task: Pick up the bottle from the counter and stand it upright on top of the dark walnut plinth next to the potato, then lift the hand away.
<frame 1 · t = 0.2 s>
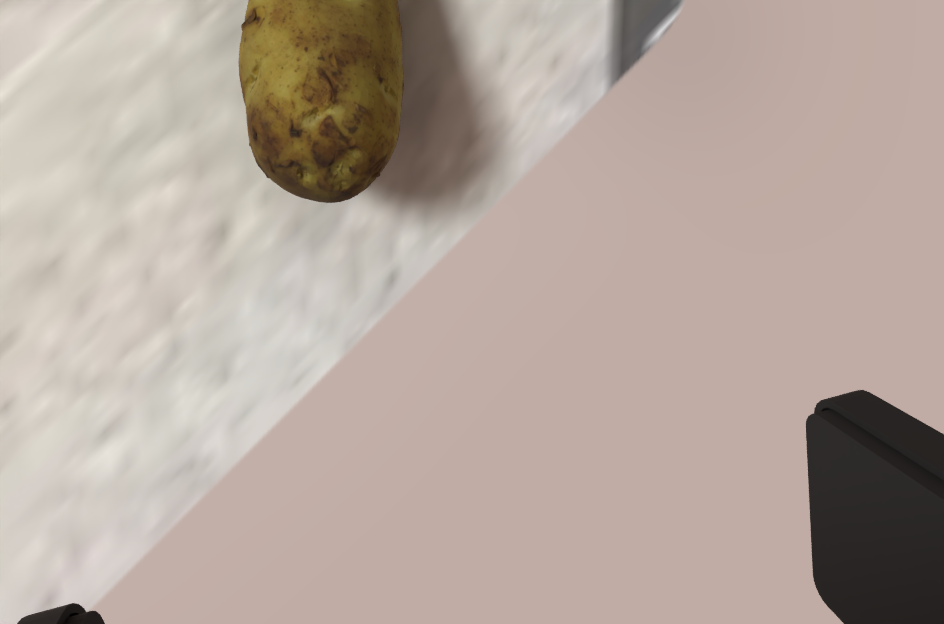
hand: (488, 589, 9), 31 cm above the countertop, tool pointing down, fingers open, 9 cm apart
potato: (330, 57, 36), on the countertop
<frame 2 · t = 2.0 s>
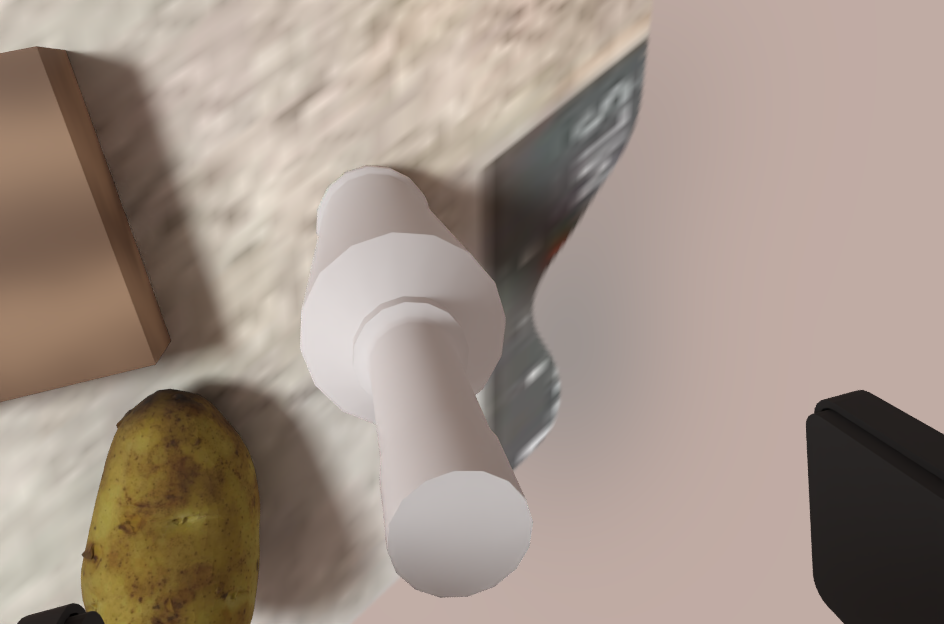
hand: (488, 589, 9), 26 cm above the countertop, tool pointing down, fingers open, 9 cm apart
bottle: (373, 217, 33), on the countertop
potato: (196, 496, 36), on the countertop
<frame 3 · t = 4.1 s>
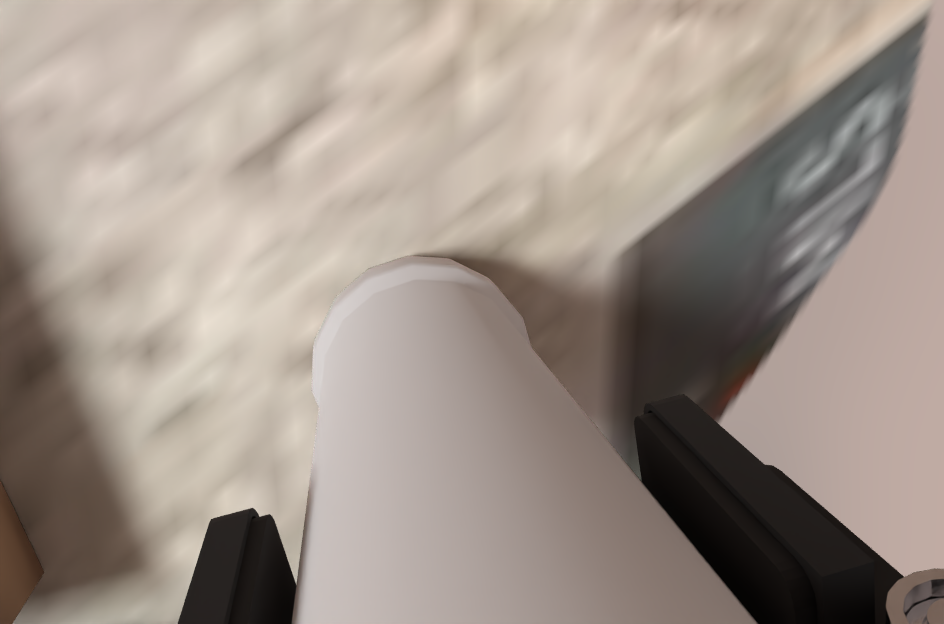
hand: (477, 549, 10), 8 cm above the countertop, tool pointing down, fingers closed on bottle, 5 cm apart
bottle: (416, 344, 18), on the countertop, touching gripper
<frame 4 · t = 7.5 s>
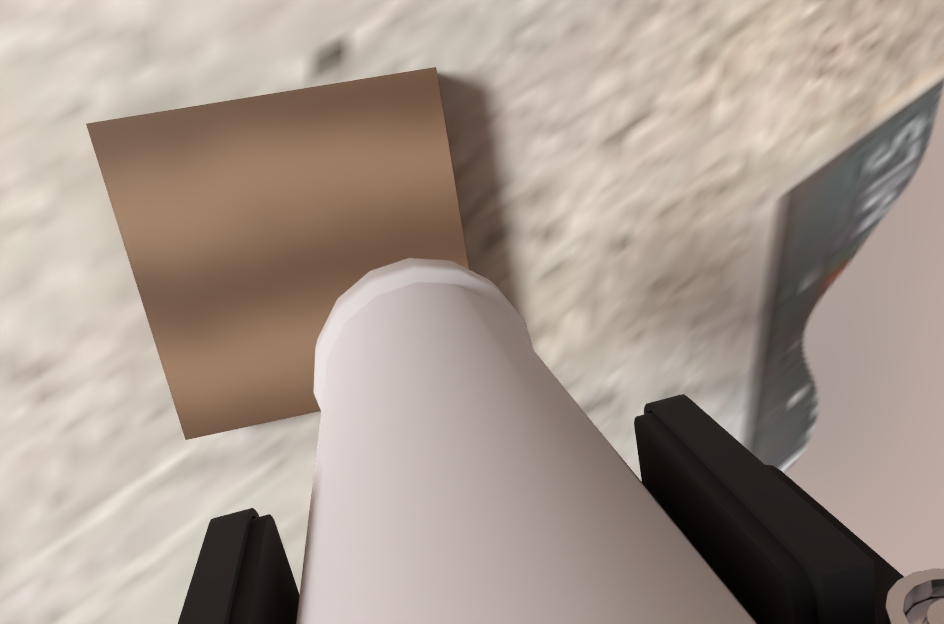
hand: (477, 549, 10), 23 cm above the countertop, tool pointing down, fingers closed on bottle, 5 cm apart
bottle: (418, 346, 18), point 15 cm above the countertop, touching gripper
walnut plinth: (309, 247, 31), on the countertop
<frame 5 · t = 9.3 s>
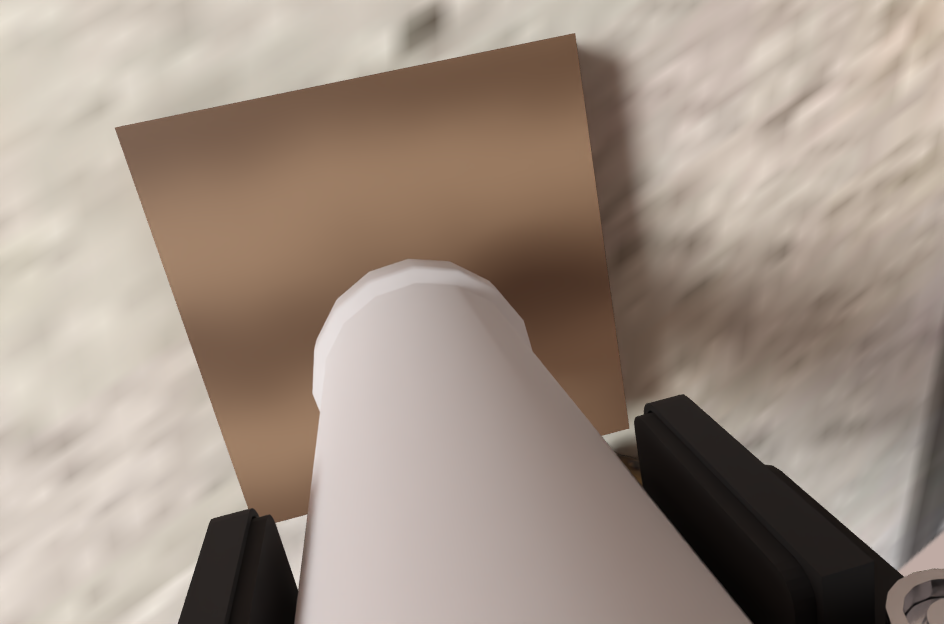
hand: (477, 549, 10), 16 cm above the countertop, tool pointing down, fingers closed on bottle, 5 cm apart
bottle: (417, 347, 18), point 7 cm above the countertop, touching gripper
potato: (590, 574, 30), on the countertop
walnut plinth: (397, 273, 25), on the countertop
when the fingers open (12 cm above the countertop, at t = 10.8 s): bottle stays where it is, resting on walnut plinth.
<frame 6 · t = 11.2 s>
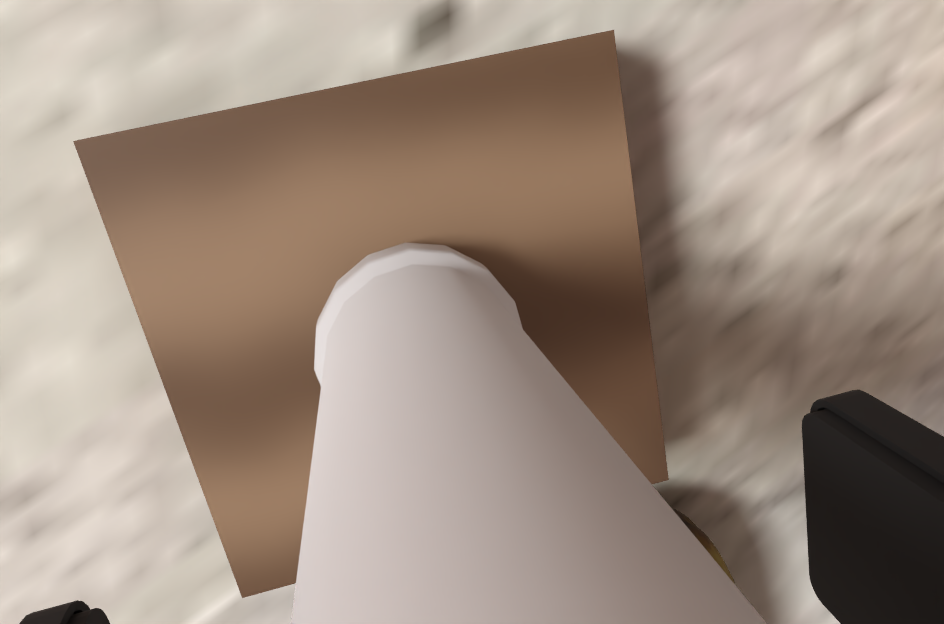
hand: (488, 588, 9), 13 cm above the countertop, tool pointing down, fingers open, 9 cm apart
bottle: (414, 328, 19), point 3 cm above the countertop, touching walnut plinth
walnut plinth: (405, 303, 22), on the countertop
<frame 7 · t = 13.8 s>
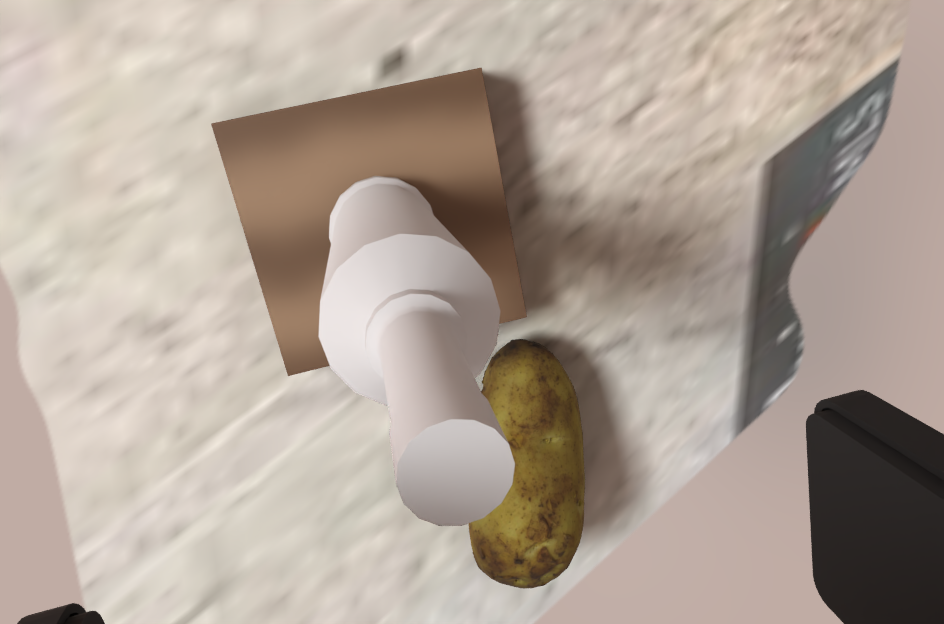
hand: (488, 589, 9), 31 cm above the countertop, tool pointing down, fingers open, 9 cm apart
bottle: (381, 224, 36), point 3 cm above the countertop, touching walnut plinth
potato: (513, 432, 44), on the countertop
walnut plinth: (378, 218, 38), on the countertop
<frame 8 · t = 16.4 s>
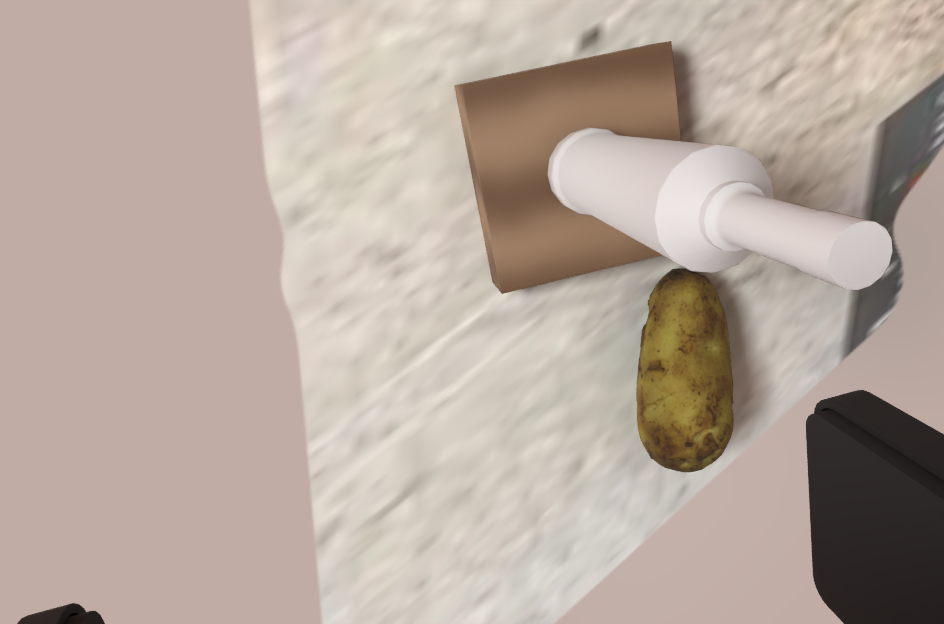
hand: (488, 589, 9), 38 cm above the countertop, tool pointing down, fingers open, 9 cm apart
bottle: (583, 169, 44), point 3 cm above the countertop, touching walnut plinth
potato: (662, 351, 52), on the countertop
walnut plinth: (569, 166, 47), on the countertop
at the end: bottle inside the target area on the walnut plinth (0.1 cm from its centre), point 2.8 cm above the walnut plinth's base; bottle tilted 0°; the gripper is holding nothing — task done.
